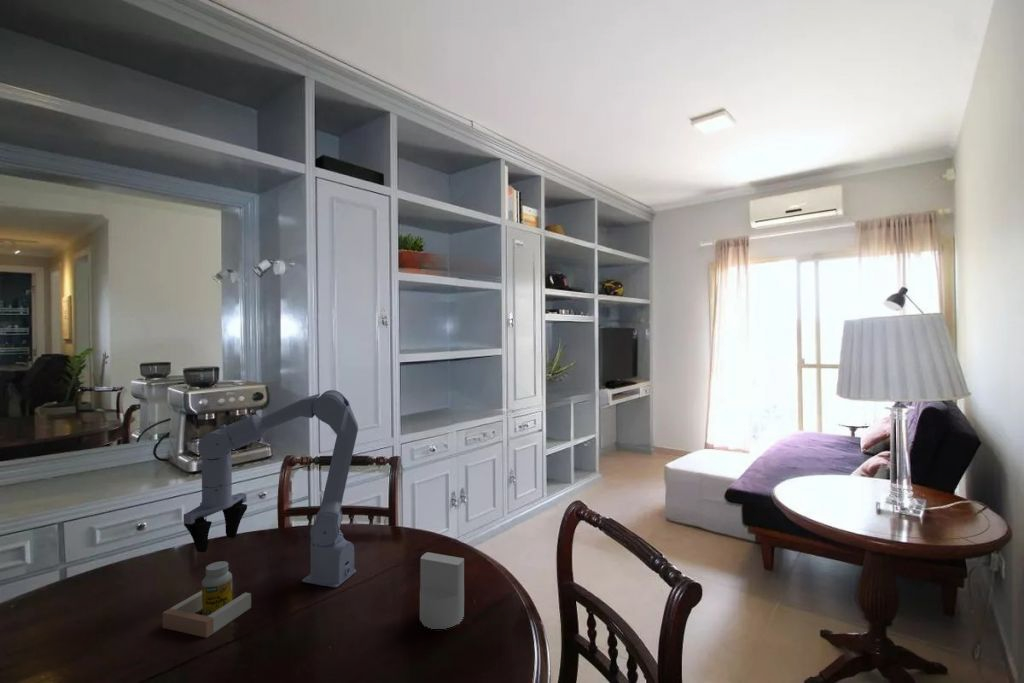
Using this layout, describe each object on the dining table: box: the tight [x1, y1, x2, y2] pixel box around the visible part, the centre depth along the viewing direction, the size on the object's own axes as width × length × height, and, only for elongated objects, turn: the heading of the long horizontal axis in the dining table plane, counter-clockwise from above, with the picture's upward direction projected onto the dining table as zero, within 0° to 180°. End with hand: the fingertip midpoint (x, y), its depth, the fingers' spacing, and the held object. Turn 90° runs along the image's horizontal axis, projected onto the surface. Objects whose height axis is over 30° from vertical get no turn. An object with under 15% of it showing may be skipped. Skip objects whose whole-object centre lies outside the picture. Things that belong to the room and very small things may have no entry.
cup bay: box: [162, 590, 252, 638], centre depth 96 cm, size 11×10×3 cm
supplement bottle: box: [201, 560, 233, 616], centre depth 99 cm, size 5×5×10 cm
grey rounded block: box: [419, 552, 465, 630], centre depth 97 cm, size 9×9×12 cm
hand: (216, 544), depth 107 cm, fingers open, 7 cm apart
